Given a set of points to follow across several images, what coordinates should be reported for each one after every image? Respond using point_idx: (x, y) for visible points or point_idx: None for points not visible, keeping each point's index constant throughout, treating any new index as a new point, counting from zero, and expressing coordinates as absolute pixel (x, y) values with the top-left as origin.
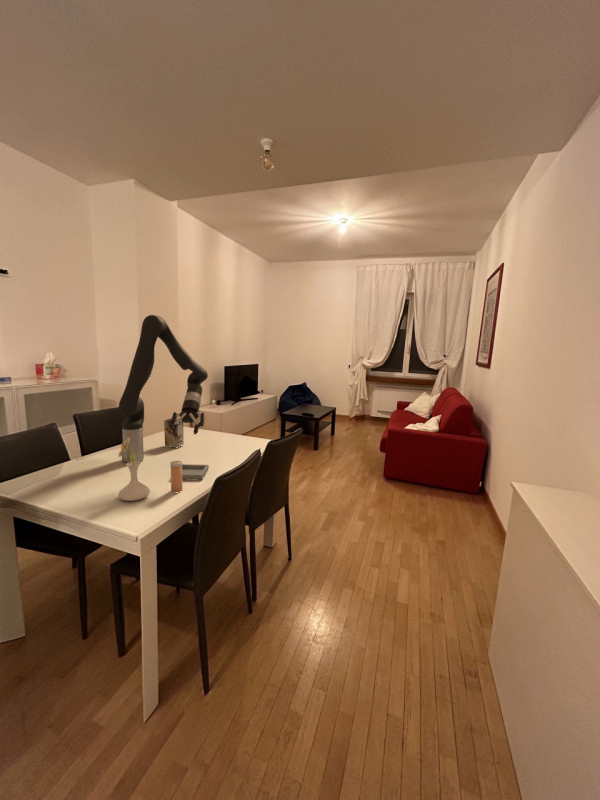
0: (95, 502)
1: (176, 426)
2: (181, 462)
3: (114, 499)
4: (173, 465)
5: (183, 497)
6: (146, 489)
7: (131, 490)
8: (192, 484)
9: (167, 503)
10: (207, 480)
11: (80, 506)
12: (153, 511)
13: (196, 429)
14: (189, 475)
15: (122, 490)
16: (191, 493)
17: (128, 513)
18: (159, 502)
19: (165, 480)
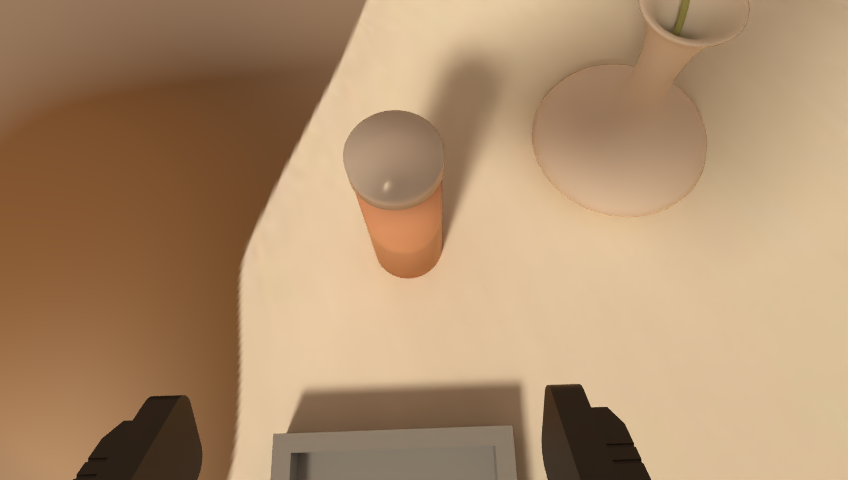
0: (770, 82)
1: (583, 476)
2: (350, 163)
3: None
4: (402, 115)
5: (341, 169)
6: (552, 128)
7: (614, 69)
8: (337, 351)
9: (403, 102)
10: (244, 435)
11: (806, 43)
12: (437, 30)
13: (107, 462)
14: (376, 430)
15: (675, 87)
16: (309, 220)
17: (540, 8)
18: (448, 108)
19: None
